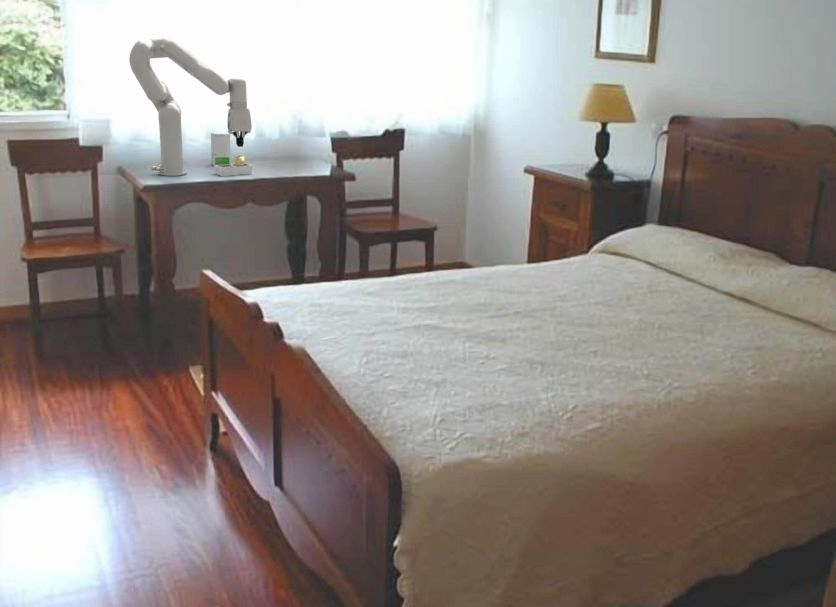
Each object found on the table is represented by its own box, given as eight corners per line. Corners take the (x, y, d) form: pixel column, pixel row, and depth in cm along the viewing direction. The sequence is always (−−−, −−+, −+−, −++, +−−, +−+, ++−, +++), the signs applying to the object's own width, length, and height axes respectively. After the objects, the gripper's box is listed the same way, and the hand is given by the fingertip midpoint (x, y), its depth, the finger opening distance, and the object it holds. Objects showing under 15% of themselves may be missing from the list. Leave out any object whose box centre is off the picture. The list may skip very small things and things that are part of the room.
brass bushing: (237, 174, 426) (237, 156, 423) (233, 173, 429) (233, 155, 427) (246, 174, 428) (245, 156, 426) (242, 172, 432) (242, 155, 429)
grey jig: (221, 176, 420) (220, 167, 418) (214, 173, 426) (213, 164, 425) (251, 174, 428) (251, 165, 427) (244, 171, 434) (244, 162, 433)
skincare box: (214, 166, 447) (212, 133, 442) (211, 164, 452) (209, 132, 448) (231, 166, 450) (230, 133, 445) (228, 164, 456) (227, 131, 451)
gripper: (226, 106, 413) (228, 148, 418) (257, 105, 421) (258, 146, 426) (219, 105, 419) (221, 146, 424) (250, 104, 427) (251, 144, 432)
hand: (240, 146), depth 425 cm, fingers closed
